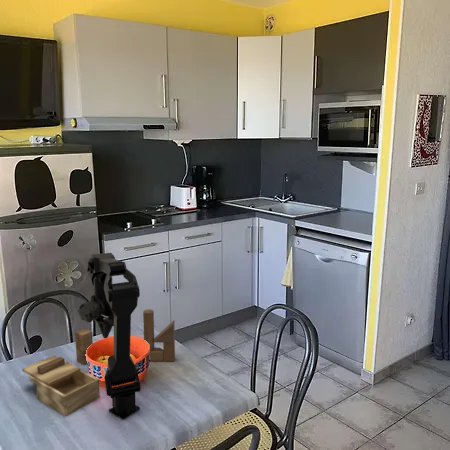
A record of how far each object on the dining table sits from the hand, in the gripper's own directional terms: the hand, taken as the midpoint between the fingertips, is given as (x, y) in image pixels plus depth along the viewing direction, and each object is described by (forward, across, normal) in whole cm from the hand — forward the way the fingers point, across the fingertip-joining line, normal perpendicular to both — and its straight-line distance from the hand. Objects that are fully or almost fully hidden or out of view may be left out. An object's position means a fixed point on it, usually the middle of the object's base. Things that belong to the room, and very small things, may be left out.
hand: (105, 337), depth 151 cm
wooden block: (+13, +6, +18) cm, 23 cm away
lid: (+7, -6, -16) cm, 19 cm away
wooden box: (+13, -4, -16) cm, 21 cm away
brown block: (+13, -13, +1) cm, 18 cm away
